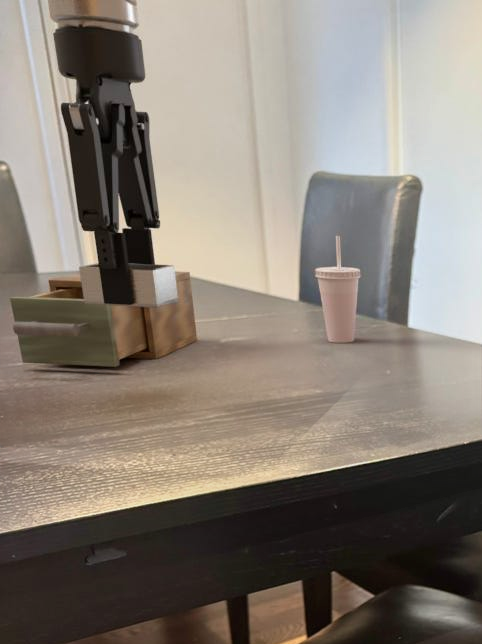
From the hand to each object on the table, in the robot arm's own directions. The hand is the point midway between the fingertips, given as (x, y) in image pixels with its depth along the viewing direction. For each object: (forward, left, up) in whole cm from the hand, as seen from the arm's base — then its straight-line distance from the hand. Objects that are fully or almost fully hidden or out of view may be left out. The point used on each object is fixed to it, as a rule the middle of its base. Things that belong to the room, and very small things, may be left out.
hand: (132, 299), depth 93 cm
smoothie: (+12, +40, -10) cm, 43 cm away
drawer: (-14, +15, -9) cm, 22 cm away
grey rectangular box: (0, 0, 0) cm, 0 cm away
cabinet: (-14, +28, -10) cm, 33 cm away
